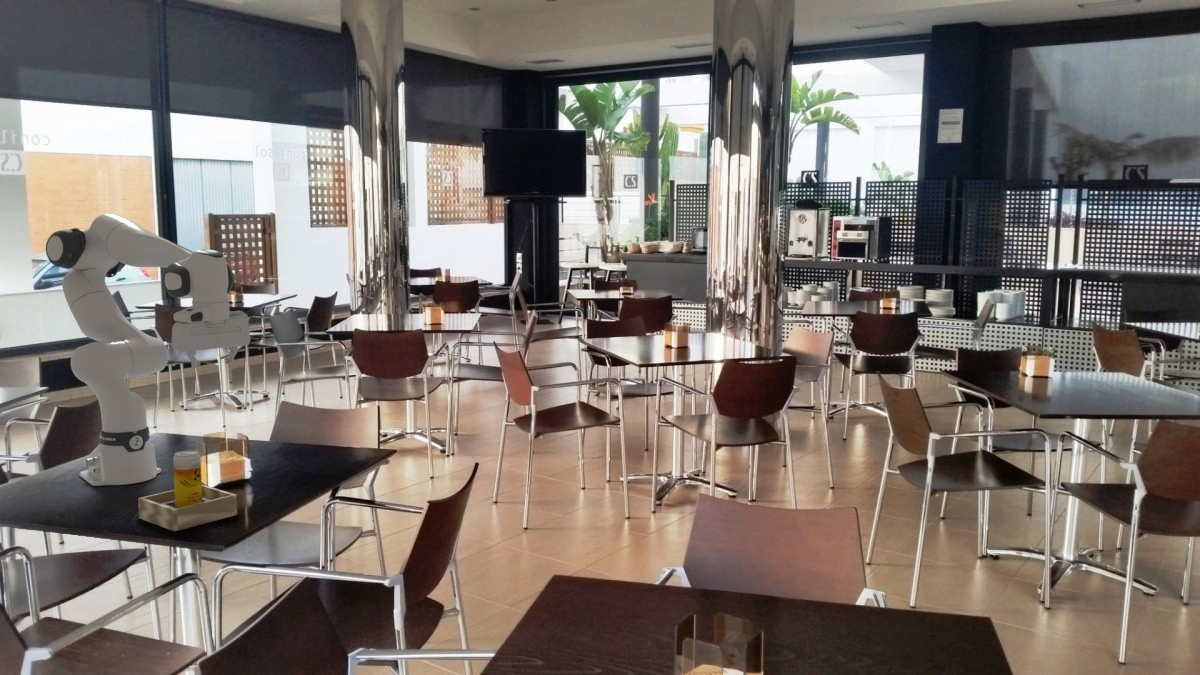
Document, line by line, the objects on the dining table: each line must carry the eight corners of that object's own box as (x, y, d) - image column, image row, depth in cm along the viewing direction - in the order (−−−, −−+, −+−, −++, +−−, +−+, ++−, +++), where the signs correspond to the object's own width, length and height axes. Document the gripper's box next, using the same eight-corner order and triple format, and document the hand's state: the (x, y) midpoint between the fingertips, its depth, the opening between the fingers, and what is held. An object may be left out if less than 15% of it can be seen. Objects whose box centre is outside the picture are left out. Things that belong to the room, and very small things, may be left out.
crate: (139, 518, 228) (138, 498, 227) (201, 502, 240) (200, 483, 240) (174, 531, 218) (173, 510, 217) (237, 514, 231) (236, 494, 230)
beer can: (193, 518, 225) (190, 456, 224) (170, 516, 226) (167, 455, 225) (208, 510, 231) (205, 450, 229) (185, 509, 232) (183, 449, 231)
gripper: (240, 309, 254) (242, 360, 256) (167, 314, 238) (169, 369, 239) (254, 310, 250) (255, 362, 252) (180, 316, 234) (182, 371, 235)
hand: (213, 365), depth 245 cm, fingers open, 8 cm apart
